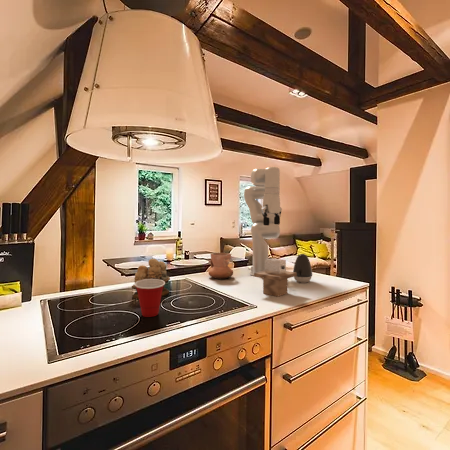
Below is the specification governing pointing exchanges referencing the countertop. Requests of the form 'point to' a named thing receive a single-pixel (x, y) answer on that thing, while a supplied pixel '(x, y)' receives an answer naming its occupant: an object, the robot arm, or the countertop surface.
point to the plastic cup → (149, 296)
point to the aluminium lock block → (275, 266)
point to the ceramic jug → (220, 266)
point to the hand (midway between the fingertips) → (271, 224)
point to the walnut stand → (275, 282)
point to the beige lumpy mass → (152, 275)
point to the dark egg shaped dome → (302, 269)
